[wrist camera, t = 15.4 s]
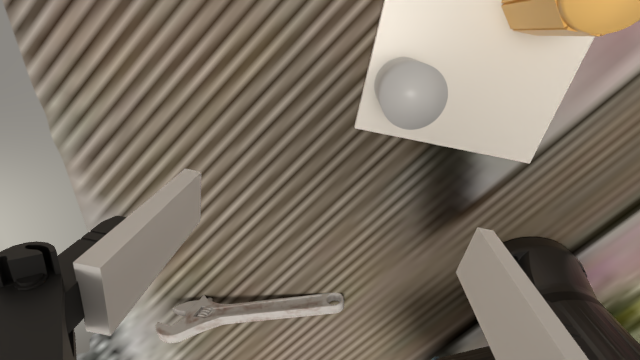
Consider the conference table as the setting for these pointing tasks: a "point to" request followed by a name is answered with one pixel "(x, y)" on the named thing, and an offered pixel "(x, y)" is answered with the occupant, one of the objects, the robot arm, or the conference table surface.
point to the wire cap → (570, 16)
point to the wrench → (243, 313)
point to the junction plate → (465, 77)
